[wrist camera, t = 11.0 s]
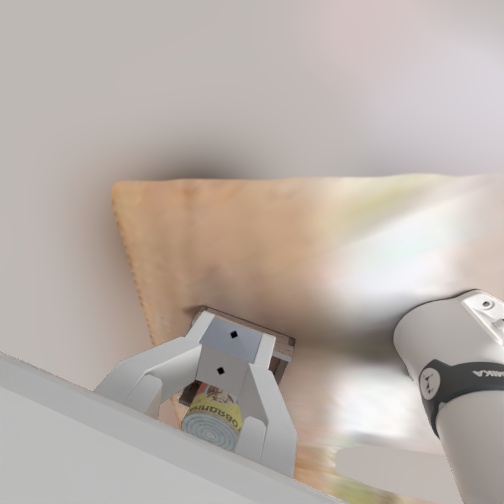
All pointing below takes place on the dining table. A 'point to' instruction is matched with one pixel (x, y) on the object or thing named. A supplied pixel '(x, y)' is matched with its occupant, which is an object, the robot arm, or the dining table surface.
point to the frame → (282, 342)
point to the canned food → (214, 417)
